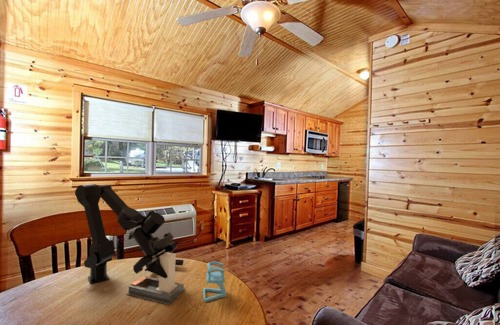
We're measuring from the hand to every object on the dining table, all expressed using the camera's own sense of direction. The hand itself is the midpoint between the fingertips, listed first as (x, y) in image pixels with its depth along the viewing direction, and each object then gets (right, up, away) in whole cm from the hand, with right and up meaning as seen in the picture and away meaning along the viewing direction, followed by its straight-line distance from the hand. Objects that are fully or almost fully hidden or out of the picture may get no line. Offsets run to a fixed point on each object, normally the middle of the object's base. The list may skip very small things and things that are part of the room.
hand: (170, 274), depth 88 cm
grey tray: (-6, -7, +2) cm, 10 cm away
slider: (-2, -8, +1) cm, 8 cm away
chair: (+16, -8, +1) cm, 18 cm away
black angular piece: (-9, -7, +24) cm, 26 cm away
